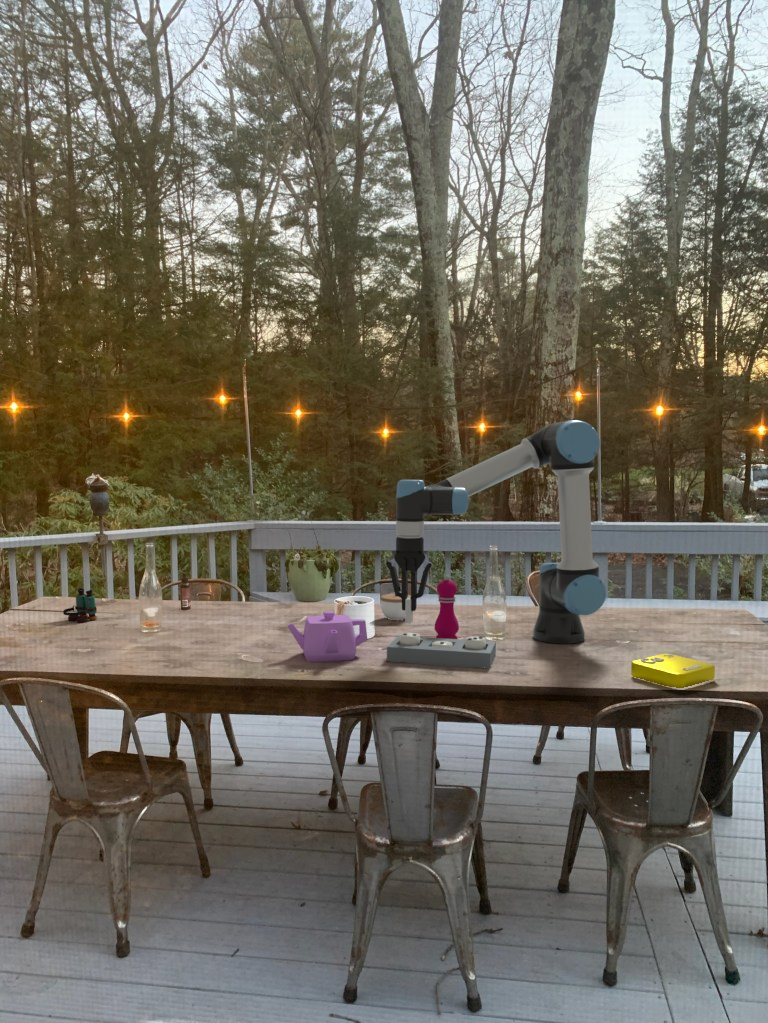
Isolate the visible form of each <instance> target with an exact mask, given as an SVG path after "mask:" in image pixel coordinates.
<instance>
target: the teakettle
mask: <svg viewBox="0 0 768 1023" xmlns="http://www.w3.org/2000/svg"><path fill="white" fill-rule="evenodd" d="M335 613H336V612H335V611H332V610H327V611H323V612H322V615H308V616H306V619H305V622H304V623H305V624H304V628H303V633H302V632H301V630H300V629H298V628H297V626H295V624H294V623H288V624H287V625H286V626H287V628H288V630H289V631H290V633H291V634H292V636H293V637H294V639H295V641H296V642H297V644H298V645H299V646H300V648H301V650H302V651H303V654H304V657H305V660H306V661H307V662H308V663H309V662H311V663H312V662H313V663H319V662H320V663H322V662H324V663H325V662H328V661H329V662H341V661H342V660H345V661H352V659H353V660H355V658H356V654H357V647H358V646H360V645H361V644H362V643H364V642H366V641H368V632H367V625H366V619H363V618H362V619H351V617H350V616H349V615H348V614H335ZM354 626H359V629H358V630H359V632H358V634H357V635H355V630H354ZM342 662H343V661H342Z"/></svg>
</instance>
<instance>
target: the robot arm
mask: <svg viewBox="0 0 768 1023" xmlns="http://www.w3.org/2000/svg"><path fill="white" fill-rule="evenodd" d="M600 442H601V440H600V435H599V434H598V432H597V430H596V429H595V427H593V426H592V424H590V423H588V422H586V421H582V420H577V419H575V420H574V419H572V420H565V421H560V422H559V421H558V422H554V423H550V424H548V425H547V426H545V427H543V428H541V429H539V430H537V431H536V432H534V433H532V434H531V435H530V434H529V436H526V437H525V438H523V439H522V438H521V441H520V444H518V445H515V446H513V447H511V448H509V449H507V450H505V451H502V452H501V453H498V454H497V455H495V456H492V457H490V458H487V459H485V460H483V461H481V462H480V463H477V464H475V465H473V466H471V467H469V468H466V469H464V470H462V471H460V472H458V473H455V474H454V475H452V476H450V477H447V478H445V479H444V480H441V481H438V482H437V483H434V484H429V485H427V486H426V485H425V481H424V480H422V479H400V480H399V481H398V482H397V485H396V493H395V494H396V496H395V498H396V513H395V514H396V516H395V517H396V519H395V521H396V522H395V535H396V536H397V537H396V539H395V554H394V556H393V558H392V559H391V560H387V561H386V563H385V565H386V567H387V568H388V570H389V573H390V578H391V582H392V586H393V590H394V594H395V595H396V596H398V597H400V598H401V599H402V610H405V620H404V622H405V623H404V624H412V623H413V620H414V619H413V618H414V616H413V615H414V614H413V612H416V610H417V606H418V605H417V601H418V599H419V598H422V597H423V596H424V594H425V589H426V586H427V583H428V578H429V574H430V570H431V569H432V567H433V566H434V563H433V562H432V561H431V562H430V561H429V560H427V559H426V555H425V553H424V548H425V547H424V546H425V545H424V544H425V541H424V540H425V539H424V537H423V536H424V534H425V533H424V532H425V526H424V525H425V515H446V516H447V515H449V516H450V515H453V516H456V515H464V514H466V512H467V510H468V509H469V497H471V496H473V495H475V494H477V493H480V492H482V491H483V490H486V489H488V488H490V487H492V486H494V485H496V484H499V483H501V482H503V481H504V480H505V481H506V480H508V479H510V478H512V477H514V476H516V475H518V474H520V473H522V472H525V471H526V470H528V469H531V468H533V469H539V468H541V467H544V466H545V465H550V468H551V472H553V473H554V475H556V477H557V492H558V494H557V495H558V496H557V497H558V511H559V512H558V515H559V517H558V519H559V533H560V553H561V554H560V555H561V557H560V558H561V559H560V560H561V561H560V562H544V563H542V564H541V565H540V568H539V575H538V576H539V610H538V611H539V612H538V616H537V618H536V622H535V623H534V627H533V630H532V632H533V633H532V637H533V639H535V640H537V641H540V642H545V643H550V644H562V645H564V644H576V643H581V642H583V641H585V630H584V626H583V624H582V620H581V616H589V615H592V614H595V613H596V612H597V611H598V610H600V609H601V608H602V607H603V605H604V603H605V601H606V600H607V599H606V598H607V587H606V585H605V583H604V581H603V579H601V578H600V569H599V568H600V567H599V566H600V565H599V564H598V563H597V562H596V561H595V560H594V558H593V555H594V554H593V540H592V539H593V538H592V536H593V535H592V517H591V516H592V515H591V514H592V512H591V492H590V490H591V489H590V474H591V472H592V471H593V470H594V469H595V457H596V456H597V454H598V453H599V451H600V447H601V443H600ZM422 564H423V566H422ZM397 565H398V566H399V568H400V569H401V572H400V573H401V585H400V580H399V576H398V570H397V567H396V566H397ZM421 566H422V567H423V571H422V576H421V579H420V584H419V586H418V572H419V571H418V570H419V568H420V567H421ZM409 571H410V595H411V598H407V597H408V595H409Z"/></svg>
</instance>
